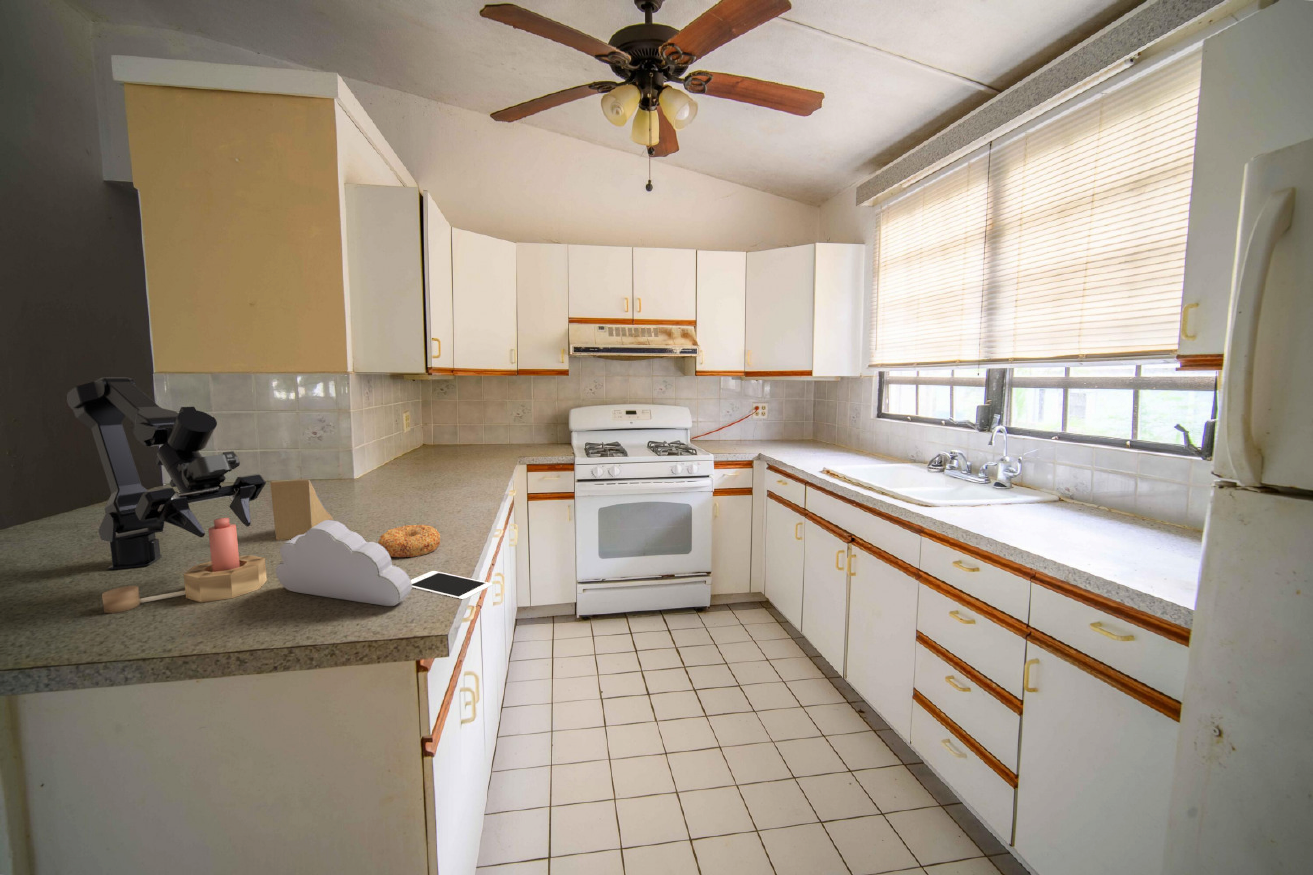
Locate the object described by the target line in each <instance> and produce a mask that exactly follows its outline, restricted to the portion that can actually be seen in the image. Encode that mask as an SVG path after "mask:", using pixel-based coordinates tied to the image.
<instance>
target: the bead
mask: <svg viewBox="0 0 1313 875" xmlns="http://www.w3.org/2000/svg"><path fill="white" fill-rule="evenodd" d="M239 563H240V567H238V568H235V569H231V570H227V571H218V572H212V562H211V561H207V562H204V563H200V564H196V565H194V566H193V565H192V567H191V568H189V570H187V571H186V572H184V573H183V582H184V590H185V593H186V595H185V599H188V600H191V601H195V602H199V603H205V602H214V601H220V600H229V599H234V598H238V597H240V596H243V595H246V594H248V593H252V592H254V591H257V590H259V589H261V588H262V587H263V585H265V583H266V582H267V581H268V579H267V568H266V567H267V566H266V558H265V557H260V556H256V555H250V554H247V555H239ZM261 586H262V587H261Z"/></svg>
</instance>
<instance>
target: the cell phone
mask: <svg viewBox="0 0 1313 875" xmlns="http://www.w3.org/2000/svg"><path fill="white" fill-rule="evenodd" d="M410 580H411V583H412V589H415V588H416V589H415V590H419V591H422V592H423V591H424V592H427V591H430V592H429V593H431V592H432V594H436V595H440V596H444V595H447V596H446V597H448V596H450V597H449V598H452V597H453V599H456V598H459V599H458V600H461V599H462V600H463V601H464V600H466V599H469V598H471V597H472V596H474V595H476V594H479V592H483V591H484V590H486V589H488V588H490V587H492V586H493V583H492V582H487V581H483V580H477V579H473V578H469V577H464V576H461V575H460V576H459V575H456V574H451V573H448V572H447V573H446V572H442V571H436V570H431V571H428V572H426V573H424V574H421V575H419V576H416V577H415V578H412V579H410Z"/></svg>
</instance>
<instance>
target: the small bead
mask: <svg viewBox="0 0 1313 875" xmlns="http://www.w3.org/2000/svg"><path fill="white" fill-rule="evenodd" d="M101 599H102V604H103V605H102V606H103V612H104V614H105V613H106V614H117V613H121V612H126V611H129V610H132V609H135V608H137V607H139V606H140V605H141V603H140V599H141V598H140V592H139V586H137V585H129V586H128V585H127V586H121V587H116V588H112V589H110V590H107V591H105V592H103V593H102V594H101Z"/></svg>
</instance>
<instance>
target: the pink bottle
mask: <svg viewBox="0 0 1313 875" xmlns="http://www.w3.org/2000/svg"><path fill="white" fill-rule="evenodd" d="M230 522H231V521H230V518H229V517H221V518H215V519H213V525H214V526H210V527H208V539H209V540H208V541H209V551H210V560H211V562H212V572H218V571H227V570H231V569H235V568H238V567H240V563H239V556H240V555H239V554H240V552H239V544H238V542H239V541H238V534H237V533H238V532H237V531H238V530H237V524H234V523H230Z"/></svg>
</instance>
